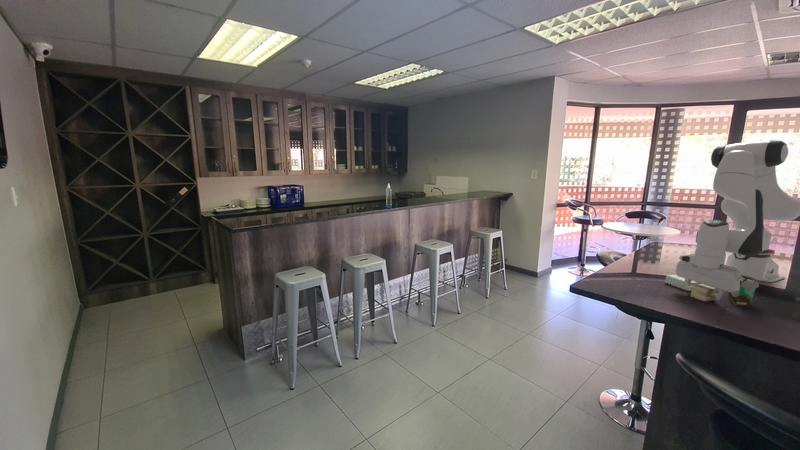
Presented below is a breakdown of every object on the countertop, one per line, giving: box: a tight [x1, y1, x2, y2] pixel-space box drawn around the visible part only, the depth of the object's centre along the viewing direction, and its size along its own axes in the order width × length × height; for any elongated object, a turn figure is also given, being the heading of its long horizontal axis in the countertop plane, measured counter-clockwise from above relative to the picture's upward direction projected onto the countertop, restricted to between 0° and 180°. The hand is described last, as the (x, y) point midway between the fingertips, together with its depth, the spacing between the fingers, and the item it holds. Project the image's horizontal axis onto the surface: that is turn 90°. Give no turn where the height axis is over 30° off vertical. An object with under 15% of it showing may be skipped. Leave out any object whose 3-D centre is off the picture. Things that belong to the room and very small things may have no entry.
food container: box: [727, 275, 760, 308], centre depth 122 cm, size 12×6×10 cm, turn 148°
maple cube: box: [690, 284, 717, 302], centre depth 127 cm, size 5×5×5 cm
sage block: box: [665, 274, 708, 292], centre depth 140 cm, size 10×10×4 cm
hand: (702, 294), depth 127 cm, fingers open, 8 cm apart
